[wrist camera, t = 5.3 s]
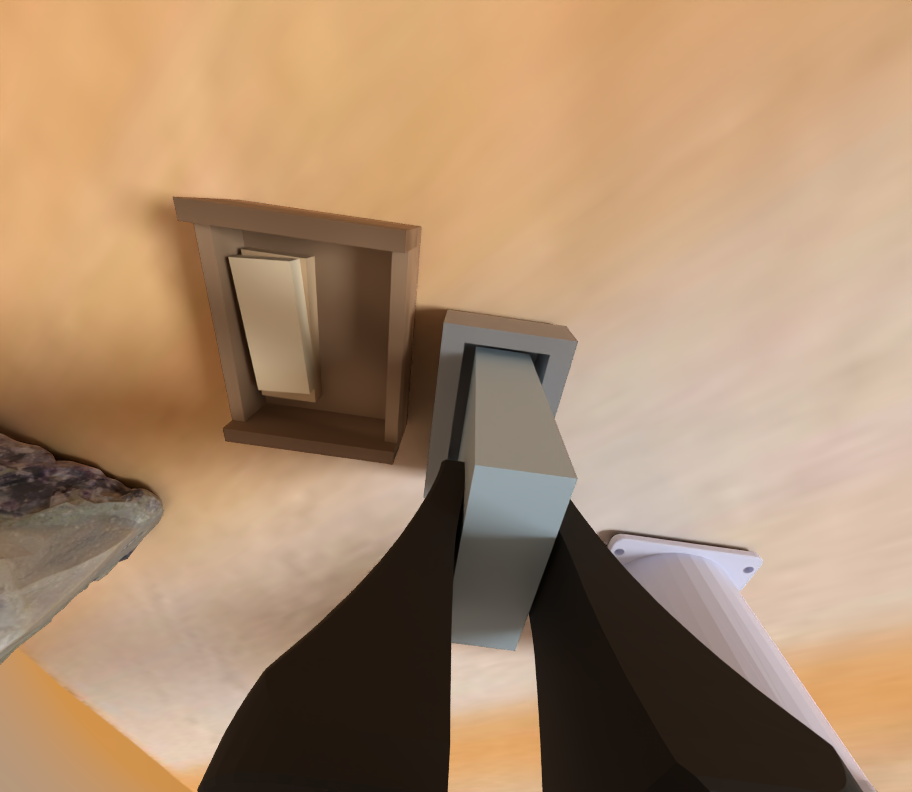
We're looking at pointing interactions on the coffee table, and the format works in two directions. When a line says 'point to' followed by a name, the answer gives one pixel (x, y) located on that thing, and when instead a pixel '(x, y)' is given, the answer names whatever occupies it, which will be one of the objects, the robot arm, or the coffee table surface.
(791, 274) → the coffee table surface
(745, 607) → the robot arm
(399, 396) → the frame
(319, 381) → the block
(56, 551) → the mineral rock
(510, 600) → the pale blue flat block
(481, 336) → the stand
